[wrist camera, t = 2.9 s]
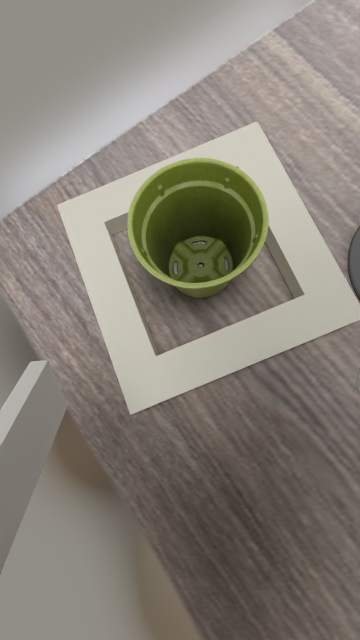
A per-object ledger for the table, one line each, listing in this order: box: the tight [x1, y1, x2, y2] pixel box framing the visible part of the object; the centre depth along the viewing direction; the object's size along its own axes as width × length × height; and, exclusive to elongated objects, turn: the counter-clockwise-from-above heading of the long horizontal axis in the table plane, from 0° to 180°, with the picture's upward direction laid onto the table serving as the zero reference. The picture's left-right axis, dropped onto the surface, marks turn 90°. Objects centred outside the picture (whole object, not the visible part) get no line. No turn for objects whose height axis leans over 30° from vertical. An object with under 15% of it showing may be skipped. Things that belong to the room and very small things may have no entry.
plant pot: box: [127, 158, 269, 298], centre depth 25 cm, size 9×9×9 cm
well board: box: [57, 121, 360, 415], centre depth 28 cm, size 20×20×2 cm
